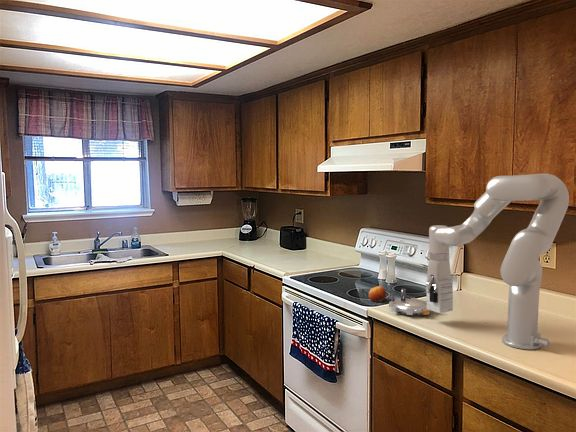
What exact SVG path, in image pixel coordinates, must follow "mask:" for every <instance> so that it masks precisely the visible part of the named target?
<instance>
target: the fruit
mask: <svg viewBox="0 0 576 432" xmlns="http://www.w3.org/2000/svg"><path fill="white" fill-rule="evenodd" d="M386 293H387V291H386V289H385V288H384V287H383V286H379V285H378V286H375V287H372V288H370V290H369V292H368V298H369V300H370V301H372V302H375V303H378V302H380V303H382V301H385V300H386V299H385V298H386Z"/></svg>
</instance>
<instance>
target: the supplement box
mask: <svg viewBox="0 0 576 432" xmlns="http://www.w3.org/2000/svg"><path fill="white" fill-rule="evenodd" d="M425 280H426V282H427V278H426V279H425ZM432 284H435V285H436V283H435V282H434V281H433V282H432ZM453 284H454V283H453V279H452V280H451V279H447V280H443V281H440V282H438V286H437V291H436V293H437V301H438V302H437V303H434V302H430V292H429V290H428V288H427V287H426V301H427V309H428V310H432V311H431V312H435V313H439V314H442V313H443V314H444V313H448V312H452V311H453V309H454V304H453V303H454V302H453V301H454V294H453V289H454V287H453ZM433 288H435V287H434V286H433Z"/></svg>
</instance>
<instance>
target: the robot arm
mask: <svg viewBox="0 0 576 432" xmlns="http://www.w3.org/2000/svg"><path fill="white" fill-rule="evenodd" d="M517 201H518V202H519V201H539V204H538V206H537V208H536V209H535V211H534V213H533V215H532V217H531V218H532V219H531V220H530V222H529V224H528V226H527V227H526V228H524V229H522V230H520V231H519V232H517V233H516V234H515V235H514V236H513V238H512V240H511V242H510V245H509V247H508V250H507V251H506V254H505V256H504V259H503V261H502V263H501V266H500V269H499V270H500V271H499V272H500V277H501V279H502V281H503V282H504V283H505V284H507V285H508V286H509V287H508V297H507V298H508V300H507V301H508V302H507V321H506V323H507V326H506V327H507V328H506V334H504V335H502V336H501V342H502V343H504V344H505V345H506V346H508V347H511V348H515V349H520V350H537V349H541V348H542V347H543V346H545V347H549V346H550V341H549V339H548V338H547V337H546V338H545V337H542V336H541V332H540V331H538V330H539V329H538V326H539V305H540V304H539V303H540V290H541V283H542V278H543V266H542V263H541V262H540V260H539V259H540V257H541V255H543V254H546V253H547V252H548V251H550V250H551V247H552V246H553V242H554V240H555V238H556V236H557V233H558V231H559V229H560V226H561V225H562V222H563V220H564V218H565V215H566V214H567V213H566V212H567V211H568V207H569V203H570V202H569V201H570V194H569V190H568V188H567V186H566V184H565V183H564V182H563V181H562V180H561V179H560V178H559V177H557V176H556V175H555V174H554V175H553V174H551V173H533V174H532V173H531V174H518V175H517V174H516V175H515V174H514V175H497V176H494V177H492V178H491V179H489V180H488V181H487V184H486V187H485V192H484V193H483V194H482V195H481V196H480V197H479V198H478V199H477V200H476V201H475V202H474V204H473V206H474V208H473V209H474V210H473V212H472V213H471V214H470V216H469V217H468V218H467V219H466V220H465V221H464V222H463V223H461V224H459V225H455V226H448V225H442V224H441V225H439V224H438V225H437V224H436V225H431V226H430V227H429V229H428V241H429V242H428V244H429V245H428V246H429V247H428V248H429V249H428V251H429V260H428V265H427V272H426V279H427V282H426V283H425V285H426V289H427V288H428V290H429V292H430V302H434V303H437V302H438V301H437V293H436V291H437V286H438V282H440V281H443V280H447V279H451V280H453V278H454V277H453V276H452V274H451V271H452V270H451V263H450V247H459V246H462V245H465V244H469V243H471V242H473V240H474V241H475V239H476V238H477V237H478V236H480V234H482V233H483V232H484V230H485V229H487V227H488V226H489V225H490V224H491V222H492V220H493V219H494V218H495V217H497V215H499V214H500V213H501V211H503V210H504V209H505V208H506V207H507V206H508V205H509V204H511V203H512V202H517ZM433 281H434V282H435V283H436V285H435V284H432V282H433ZM433 286H434V287H435V288H433Z"/></svg>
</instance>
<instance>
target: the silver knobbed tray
mask: <svg viewBox="0 0 576 432" xmlns="http://www.w3.org/2000/svg"><path fill="white" fill-rule="evenodd" d="M406 290H407V289H406V288H401V289H400V297H399V298H395V300H393V301H392V300H390V301H388V302H389V303H388V307H389V308H391V311H393V312H395V313H398V312H400V313H401V312H402V313H401V314H403V313H406V314H407V315H406V314H405V315H406V316H414V315H413V314H422V315H423V316H424V315H425V316H426V315H430V313H431V312H433V311H432V310H428V309H427V300H424V299H418V298H416V297H411V298H406V297H407V295H406V294H407V293H406V292H407V291H406Z"/></svg>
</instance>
